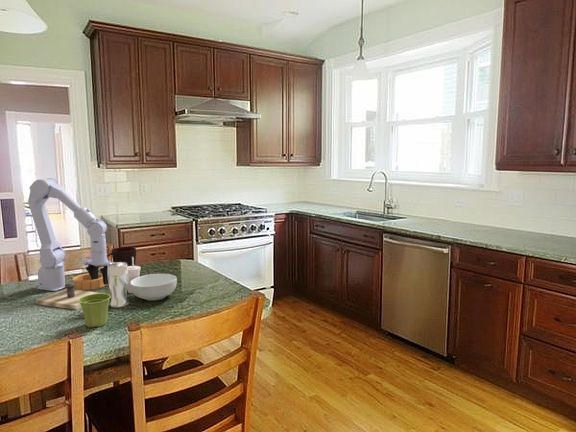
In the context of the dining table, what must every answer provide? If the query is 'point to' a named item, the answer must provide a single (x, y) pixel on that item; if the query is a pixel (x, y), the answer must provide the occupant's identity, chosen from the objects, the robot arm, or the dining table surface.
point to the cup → (124, 255)
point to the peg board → (65, 298)
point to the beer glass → (118, 283)
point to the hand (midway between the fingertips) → (100, 283)
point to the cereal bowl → (153, 286)
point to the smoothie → (132, 274)
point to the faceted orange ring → (88, 282)
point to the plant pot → (95, 309)
